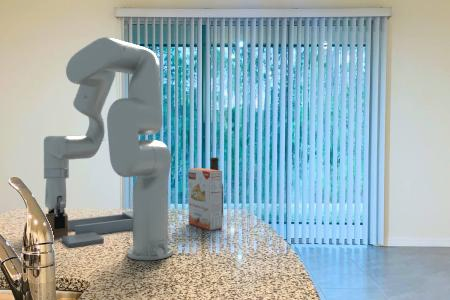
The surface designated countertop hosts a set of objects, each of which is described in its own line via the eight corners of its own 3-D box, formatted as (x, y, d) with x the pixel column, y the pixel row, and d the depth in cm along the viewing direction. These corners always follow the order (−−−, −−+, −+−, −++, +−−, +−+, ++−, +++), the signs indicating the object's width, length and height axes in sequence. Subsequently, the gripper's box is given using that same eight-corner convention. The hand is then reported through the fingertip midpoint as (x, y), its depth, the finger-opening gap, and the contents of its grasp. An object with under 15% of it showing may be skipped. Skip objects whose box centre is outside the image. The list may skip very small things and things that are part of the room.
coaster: (103, 242, 119) (103, 238, 119) (69, 247, 113) (69, 243, 113) (94, 235, 127) (94, 231, 127) (62, 240, 122) (62, 236, 122)
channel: (148, 227, 140) (147, 215, 140) (75, 237, 125) (75, 224, 125) (136, 221, 149) (136, 210, 149) (67, 230, 135) (67, 218, 134)
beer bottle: (202, 214, 163) (202, 157, 162) (219, 212, 166) (219, 157, 166) (209, 217, 156) (209, 158, 155) (226, 216, 159) (226, 157, 159)
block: (67, 236, 126) (67, 215, 126) (47, 239, 123) (47, 217, 123) (64, 232, 132) (64, 212, 131) (45, 234, 128) (45, 213, 128)
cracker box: (187, 224, 145) (187, 168, 144) (200, 221, 148) (200, 167, 148) (208, 231, 134) (208, 170, 133) (222, 228, 137) (222, 170, 137)
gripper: (39, 171, 132) (39, 221, 133) (49, 176, 118) (49, 232, 118) (62, 170, 136) (62, 219, 137) (75, 175, 122) (74, 229, 123)
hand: (56, 225), depth 128 cm, fingers open, 9 cm apart
